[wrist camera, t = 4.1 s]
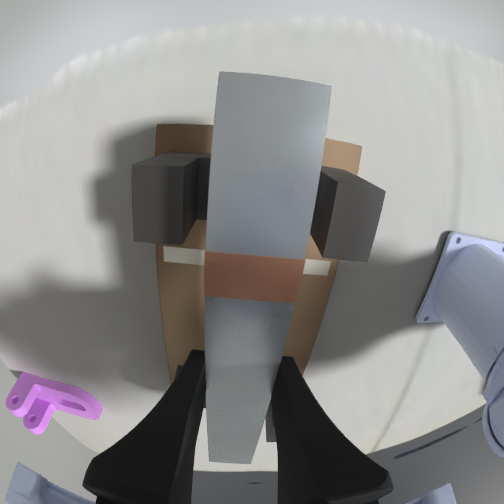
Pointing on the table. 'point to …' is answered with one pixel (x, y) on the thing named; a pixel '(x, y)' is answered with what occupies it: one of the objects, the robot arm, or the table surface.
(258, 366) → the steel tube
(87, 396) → the bracket
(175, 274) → the board
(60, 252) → the table surface
